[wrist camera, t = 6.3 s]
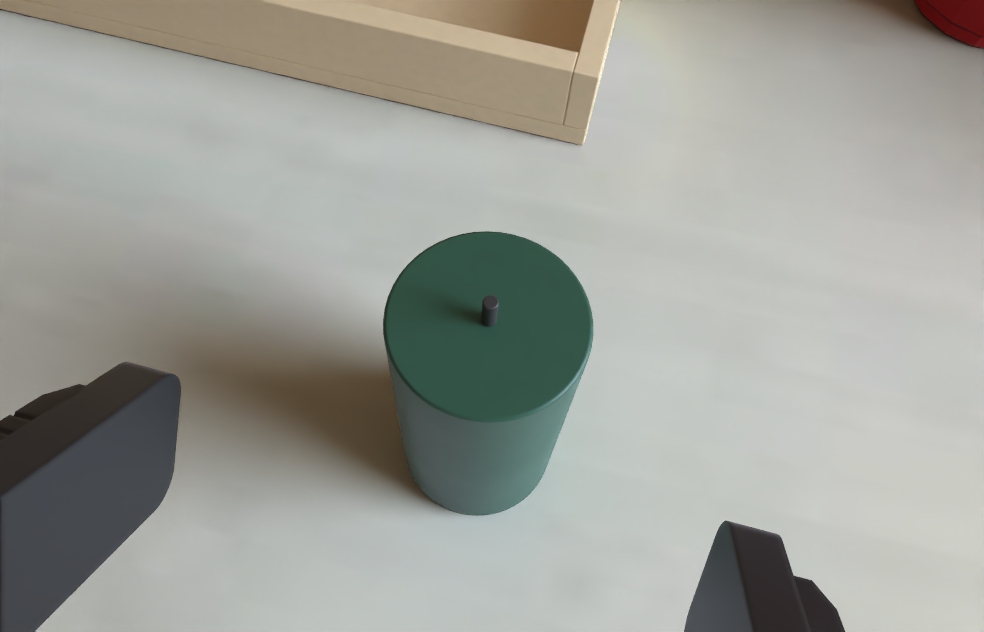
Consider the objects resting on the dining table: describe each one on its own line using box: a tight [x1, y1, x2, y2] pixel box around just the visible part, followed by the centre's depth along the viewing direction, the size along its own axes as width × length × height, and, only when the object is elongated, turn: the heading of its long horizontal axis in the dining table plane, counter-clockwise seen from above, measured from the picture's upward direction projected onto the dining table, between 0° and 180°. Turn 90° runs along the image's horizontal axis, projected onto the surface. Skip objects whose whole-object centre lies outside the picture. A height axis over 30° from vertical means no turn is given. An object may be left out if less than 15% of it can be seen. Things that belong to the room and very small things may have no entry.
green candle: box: [383, 232, 593, 515], centre depth 19 cm, size 4×4×9 cm
